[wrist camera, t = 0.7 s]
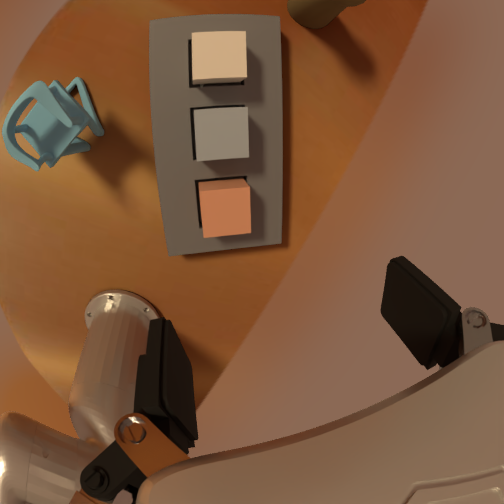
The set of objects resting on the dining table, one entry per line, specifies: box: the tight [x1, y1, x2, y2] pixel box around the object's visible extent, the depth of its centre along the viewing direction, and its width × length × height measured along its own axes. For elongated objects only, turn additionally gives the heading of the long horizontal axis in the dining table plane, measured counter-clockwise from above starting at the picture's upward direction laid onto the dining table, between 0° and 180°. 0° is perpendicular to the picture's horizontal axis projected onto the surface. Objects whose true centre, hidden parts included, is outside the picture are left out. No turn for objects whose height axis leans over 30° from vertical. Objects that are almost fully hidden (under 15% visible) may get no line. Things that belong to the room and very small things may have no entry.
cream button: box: [192, 31, 247, 85], centre depth 22 cm, size 5×5×4 cm
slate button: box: [194, 107, 249, 161], centre depth 26 cm, size 5×5×4 cm
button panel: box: [149, 14, 283, 256], centre depth 29 cm, size 28×14×3 cm, turn 1°
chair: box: [2, 77, 104, 171], centre depth 20 cm, size 8×8×12 cm
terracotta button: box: [199, 178, 251, 238], centre depth 30 cm, size 5×5×4 cm
